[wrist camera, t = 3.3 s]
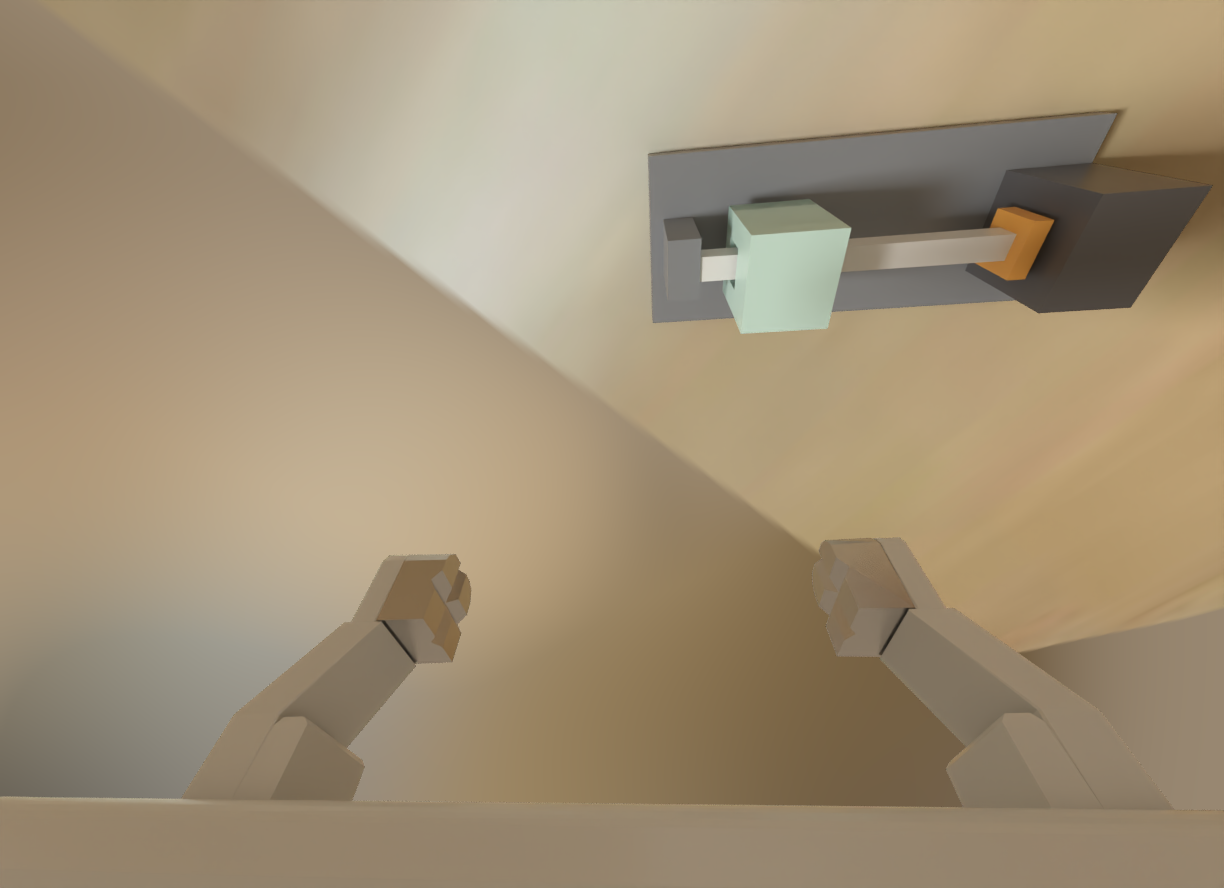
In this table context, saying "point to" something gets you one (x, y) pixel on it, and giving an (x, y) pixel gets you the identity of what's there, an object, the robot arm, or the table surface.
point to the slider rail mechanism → (929, 216)
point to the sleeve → (784, 265)
